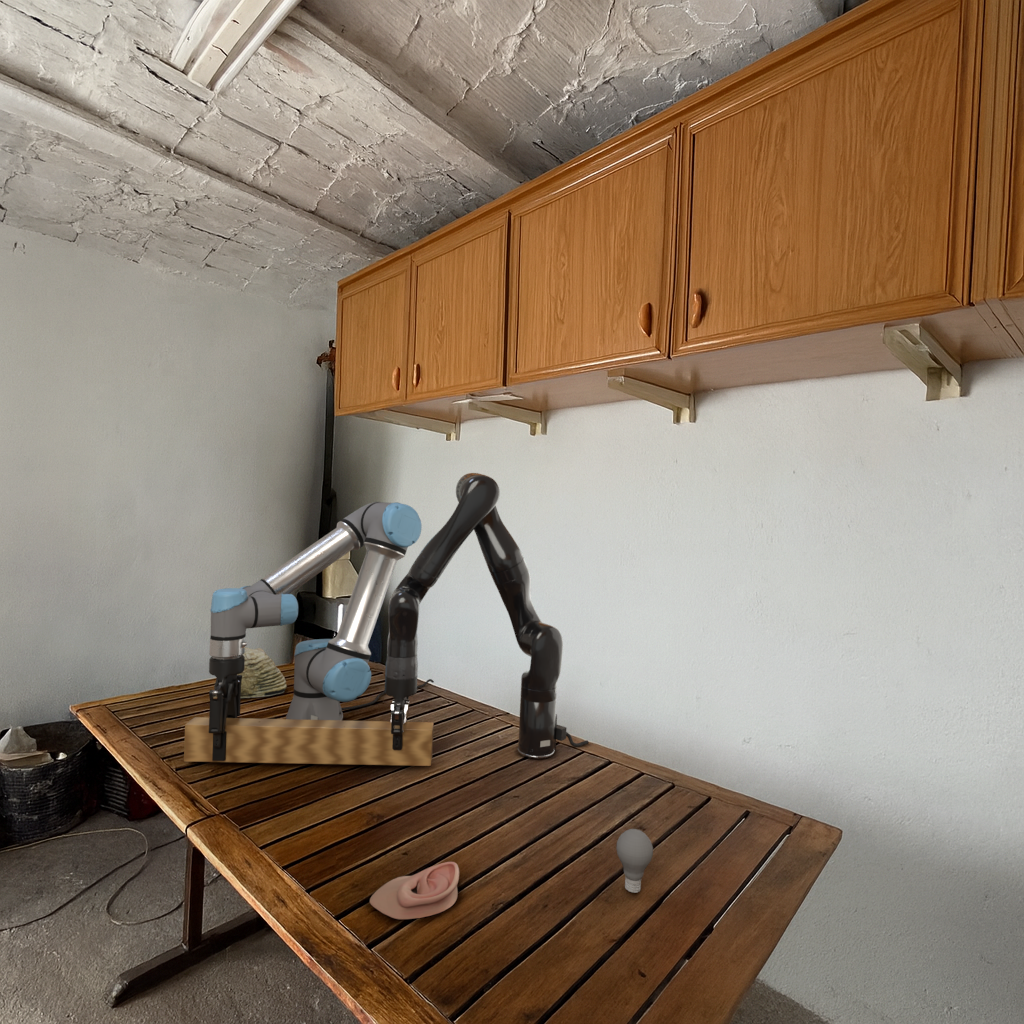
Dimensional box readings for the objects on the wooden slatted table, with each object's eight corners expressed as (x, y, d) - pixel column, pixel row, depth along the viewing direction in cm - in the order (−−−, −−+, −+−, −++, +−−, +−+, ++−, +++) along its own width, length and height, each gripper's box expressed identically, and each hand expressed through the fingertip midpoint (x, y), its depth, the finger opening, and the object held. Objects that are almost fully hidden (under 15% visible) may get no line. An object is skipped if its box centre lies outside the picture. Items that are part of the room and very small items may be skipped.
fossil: (218, 695, 195) (220, 647, 195) (278, 685, 208) (279, 640, 207) (228, 703, 189) (230, 653, 188) (289, 692, 201) (290, 645, 201)
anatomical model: (361, 887, 97) (391, 847, 108) (360, 913, 97) (390, 870, 108) (444, 902, 94) (465, 860, 105) (443, 928, 94) (464, 883, 106)
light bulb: (610, 879, 108) (613, 822, 108) (644, 879, 109) (647, 822, 109) (619, 902, 102) (622, 840, 102) (655, 901, 103) (658, 840, 103)
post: (183, 761, 144) (184, 724, 144) (193, 752, 149) (194, 717, 149) (430, 766, 148) (432, 730, 148) (432, 757, 153) (433, 722, 153)
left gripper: (228, 666, 138) (225, 772, 139) (257, 647, 156) (253, 740, 157) (193, 665, 138) (189, 771, 138) (226, 646, 156) (222, 739, 156)
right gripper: (414, 682, 142) (411, 757, 143) (420, 665, 157) (417, 733, 157) (380, 681, 142) (378, 756, 142) (389, 664, 156) (387, 733, 157)
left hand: (223, 754), depth 147 cm, fingers closed on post, 5 cm apart
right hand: (398, 744), depth 150 cm, fingers closed on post, 5 cm apart
